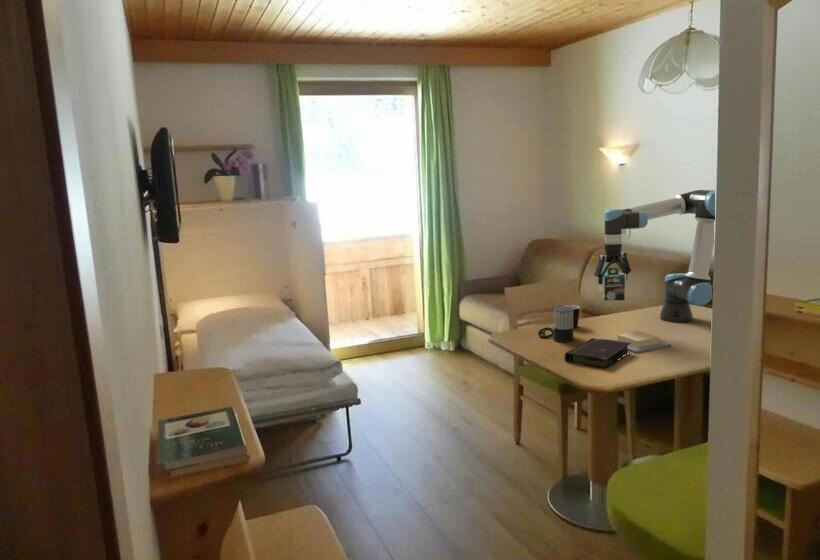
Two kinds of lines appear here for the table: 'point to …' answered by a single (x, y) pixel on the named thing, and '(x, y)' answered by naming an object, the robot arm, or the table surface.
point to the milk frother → (561, 325)
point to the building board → (642, 349)
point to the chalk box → (614, 285)
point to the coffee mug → (574, 314)
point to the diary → (598, 353)
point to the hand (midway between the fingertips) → (612, 289)
